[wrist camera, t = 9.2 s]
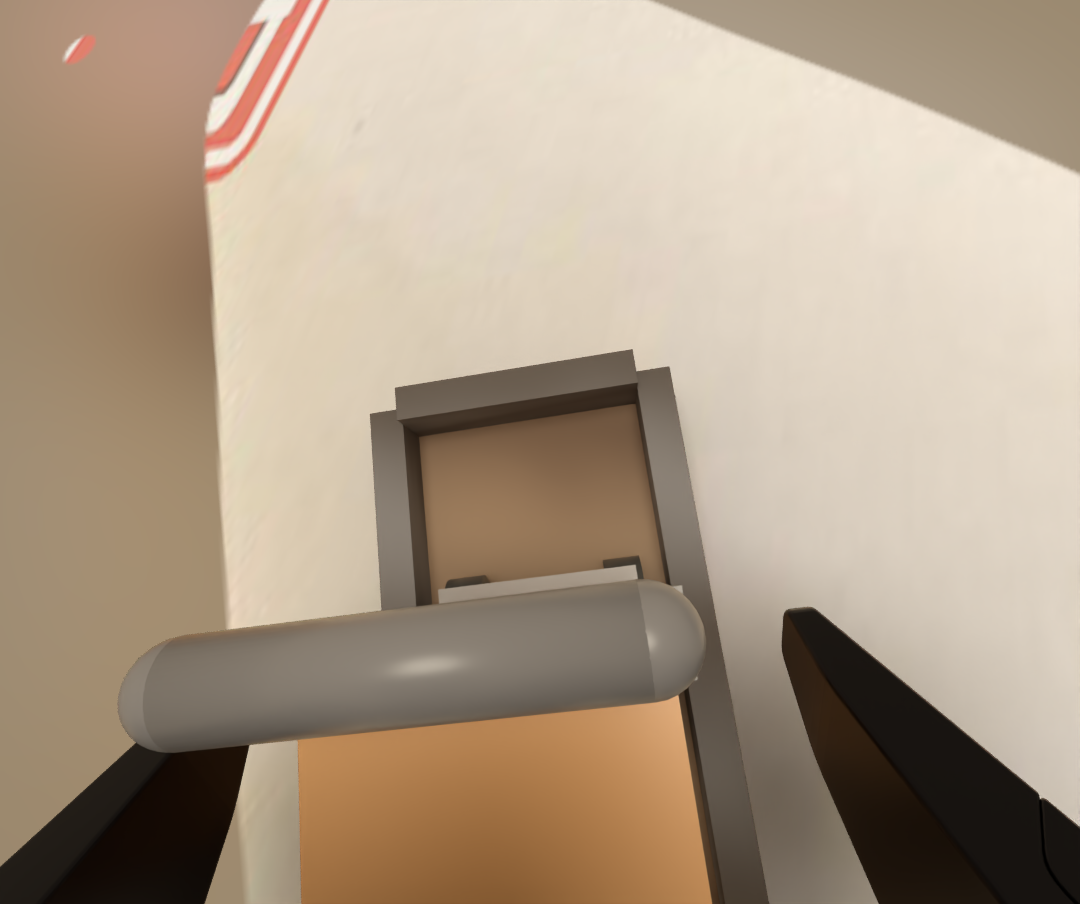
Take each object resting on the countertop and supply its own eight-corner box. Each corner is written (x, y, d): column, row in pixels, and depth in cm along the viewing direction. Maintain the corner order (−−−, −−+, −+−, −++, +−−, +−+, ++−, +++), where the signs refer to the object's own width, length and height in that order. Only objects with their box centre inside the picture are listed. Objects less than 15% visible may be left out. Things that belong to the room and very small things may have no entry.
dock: (766, 999, 17) (813, 1126, 13) (451, 1019, 17) (404, 1143, 13) (657, 388, 21) (667, 343, 17) (407, 427, 21) (362, 393, 18)
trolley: (669, 763, 16) (871, 1411, 4) (476, 781, 17) (35, 1408, 4) (637, 557, 18) (699, 481, 5) (459, 579, 18) (85, 565, 5)
